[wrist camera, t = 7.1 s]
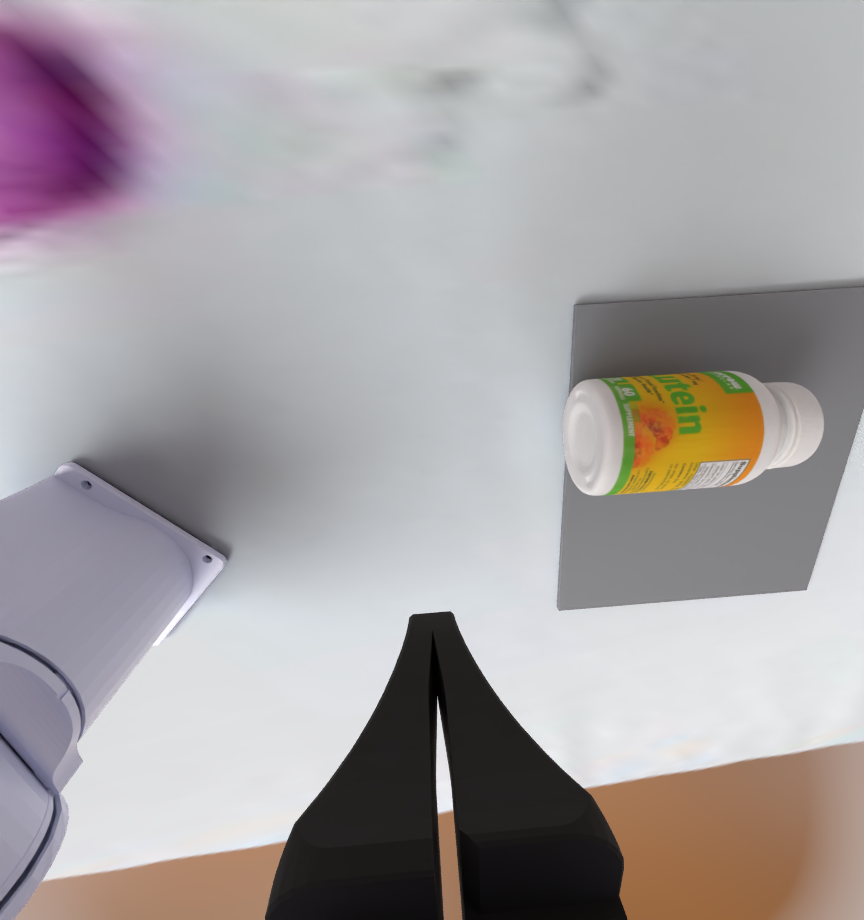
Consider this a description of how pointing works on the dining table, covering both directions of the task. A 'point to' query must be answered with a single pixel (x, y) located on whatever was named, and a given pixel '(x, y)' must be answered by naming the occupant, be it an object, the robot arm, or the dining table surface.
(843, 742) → the dining table surface
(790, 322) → the slate mat
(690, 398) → the supplement bottle
